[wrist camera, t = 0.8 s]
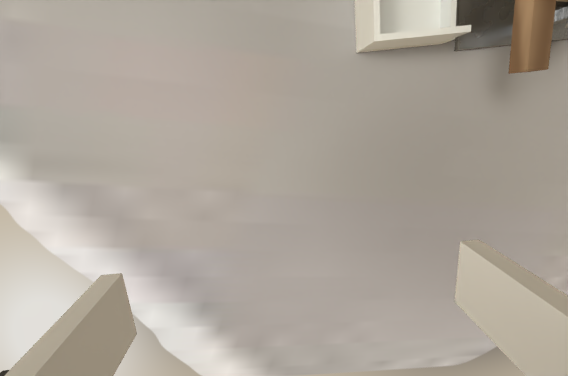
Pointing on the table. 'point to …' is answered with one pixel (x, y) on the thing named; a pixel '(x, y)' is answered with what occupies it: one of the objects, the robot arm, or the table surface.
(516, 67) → the lever
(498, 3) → the stand
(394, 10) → the white open box
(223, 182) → the table surface
